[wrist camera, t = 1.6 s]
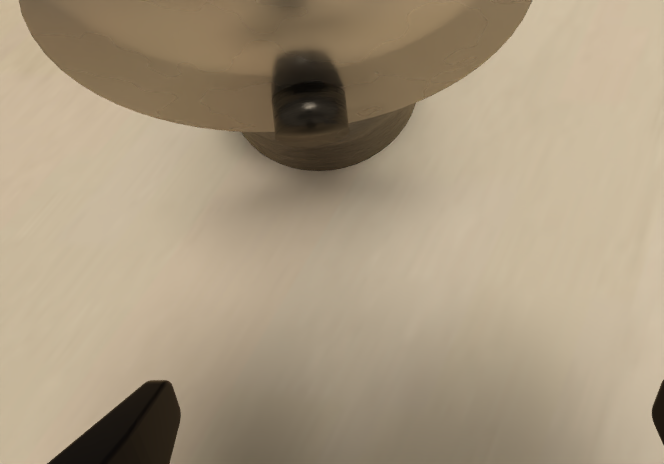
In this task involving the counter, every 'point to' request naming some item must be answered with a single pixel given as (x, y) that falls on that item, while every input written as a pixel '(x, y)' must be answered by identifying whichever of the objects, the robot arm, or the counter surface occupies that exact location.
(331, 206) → the counter surface
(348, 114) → the cooker lid
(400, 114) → the cooker pot
